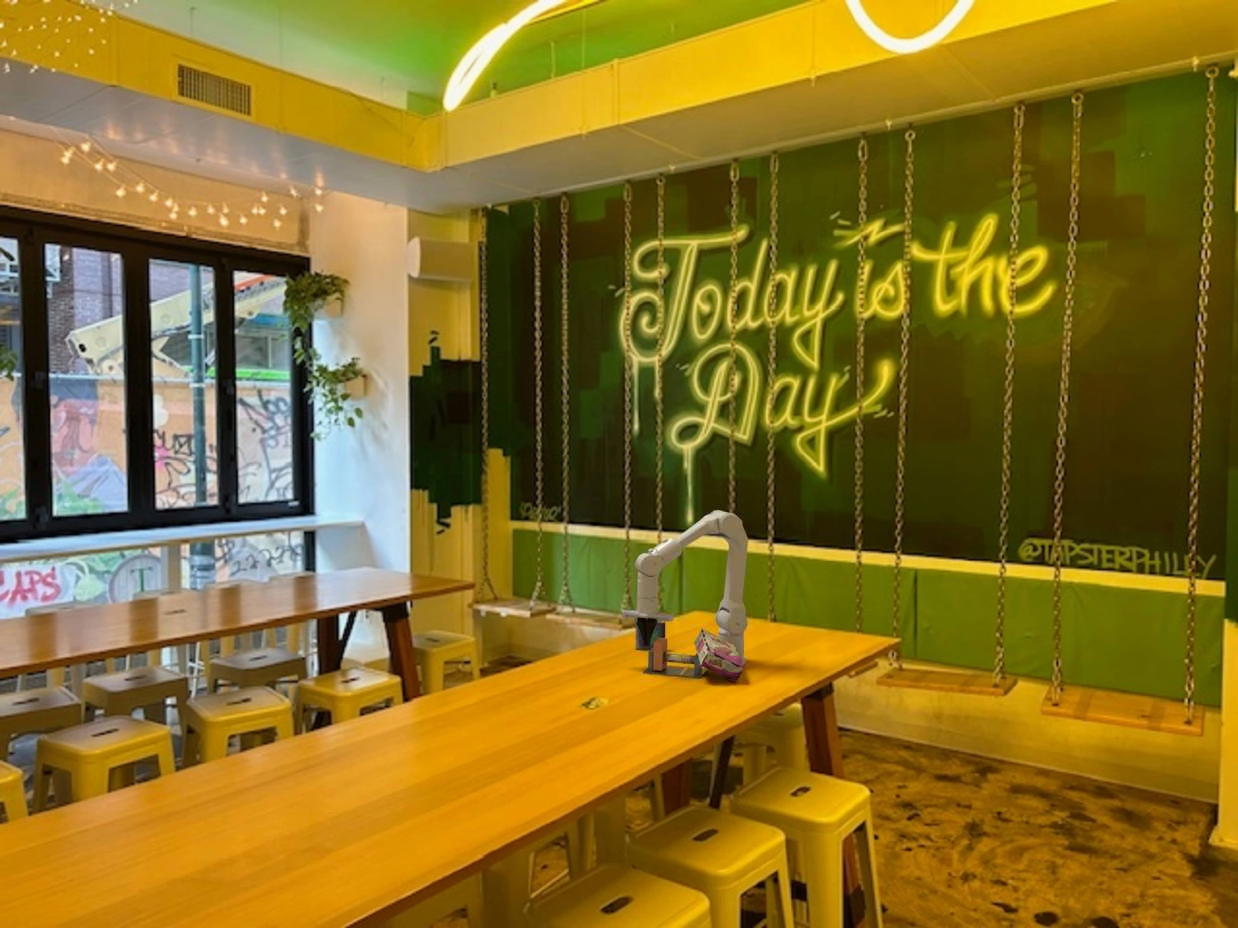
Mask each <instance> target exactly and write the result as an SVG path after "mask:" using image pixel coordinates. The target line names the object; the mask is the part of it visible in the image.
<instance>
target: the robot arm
mask: <svg viewBox="0 0 1238 928" xmlns="http://www.w3.org/2000/svg"><path fill="white" fill-rule="evenodd" d="M705 535H720V536H721V537H722V538H723V540H725V541H726V542H727V544H728V548H727V549H728V551H727V561H726V569H725V570H726V572H725V584H724V594H723V598H722V600H721V601H720V603H719V608H718V609H717V612H716V614H715V623H716V624H717V626H718V628H719V629H718V635H717V636H718V637H720V638H722V639H724V640H726V641H728V642H730V643H732V644H734V645H735V646H736V649H737V651H738V654H739V656H740V659H741V661H742V664H743V666H744V665H745V664H746V662H747V661H748V658H746V657H745V638H744V637H745V631H746V630H747V628H748V624H749V623H748V618H747V615H746V613H747V611H746V606H745V603H744V602H743V596H744V587H745V586H744V585H745V577H746V566H747V555H748V545H749V538H748V536H747V533H746V531H745V529H744V526H743V521H742V519H741V518H739V517H738V515H736V514H735V513H732V512H726V511H723V510H719V509H717V510H713V511H712V512H710V513H709V514H705V516H703V518H701V519H700V520H699V521H697V522H696V523H694V524H693V525H692V526H690V527H689V528H688V529H687V530H685V531H684V532H682V533H681V534H680V535H679V536H677V537H676V538H673V537H669V538H666V537H665V538H663V539H661V543H659V544H658V545H657V546H655V547H653V548H649V549H648V552H646V553H645V552H643V553H641V554H640V555H638V557H637V559H636V560H635V562H634V568H635V569H636V570H637V591H636V593H637V594H636V596H637V597H636V599H637V601H636V608H637V609H636V610H635V609H634V610H633V609H632V610H627V609H623V610H621V616H620V617H621V619H634V620H635V619H636V620H637V621H636V620H635V625H636V624H637V626H638V628H639V630H640V633H641V636H642V639H643V645H644V646H649V645H650V642H651V637H652V634H653V631H654V629H655V626H656V624H657V622H658V621H659V620H661V621H664V622H668V623H669V622H670V623H671V622H673V621H674V613H671V612H670V613H669V612H663V611H659V610H658V609H659V607H658V604H659V603H658V602H659V601H658V600H659V597H658V595H659V574H660V572H661V570H662V568H663V567H665V566H667V564H669V563H671V562H672V561H673V560H675V559H677V558H678V557H679V556H681V555H682V551H683V549H684V548H685V547H687V546H689V545H690V544H692V543H693V542H695V541H697V540H699V539H700V538H702V537H704V536H705Z"/></svg>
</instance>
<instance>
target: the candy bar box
mask: <svg viewBox="0 0 1238 928" xmlns="http://www.w3.org/2000/svg"><path fill="white" fill-rule="evenodd" d="M718 636H719V635H716V634H714V633H711V632H710V631H708V630H706V629H704V628H701V629H700V631H699V633H698V635H697V636H696V638H695V640H694V641H693V644H694V647H695V651H696V654H698V657H699V661H700V664H701V666H702V668H704V669H707V670H709V671H711V672H713V673H716V674H718V675H720V676H721V677H723V678H726V679H728V680H729V681H732V682H734V683H737V682H738V681H739V679H740V676H741V675H742V674H743V671H744V670H745V667H744V666H743V664H742V661H741V659H740V656H739V654H738V651H737V649H736V646H735V645H734V644H732V643H730V642H728V641H726V640H724V639H722V638H720V637H718Z"/></svg>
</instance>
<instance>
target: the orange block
mask: <svg viewBox="0 0 1238 928" xmlns="http://www.w3.org/2000/svg"><path fill="white" fill-rule="evenodd" d="M663 653H668V638H666V637H665V638H658V639H657V640H656V641H655V642H654V654H653V670H660V671H662V670H663V669H664V668H665V667H666V666H667V665H668V662H663Z"/></svg>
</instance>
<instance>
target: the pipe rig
mask: <svg viewBox="0 0 1238 928" xmlns="http://www.w3.org/2000/svg"><path fill="white" fill-rule="evenodd" d="M647 654H648V659H647V660H648V661H647V668H645V669H644V670H643V671H642V674H647V675H658V676H667V677H669V676H670V677H677V678H687V679H688V678H689V679H690V678H691V679H701V678H702V677H703V676H704V675H705V673H706V672H707V670H708V669H707V668H703V666H701V664H700V661H699V657H698V654H697V653H696V654H695V655H692V654H685V653H684V654H683V653H682V654H680V653H671V652H667V653H663V662H667V663H673V664H674V663H675V664H682V665H683V664H684V665H686V664H687V665H693V667H690V666H678V665H677V666H676V665H670V664H669V665H668V664H667V666H666V667H665V668H664V669H663V670H662V671H660V670H653V654H654V648H652V649H651V650H650V651H647Z"/></svg>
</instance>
